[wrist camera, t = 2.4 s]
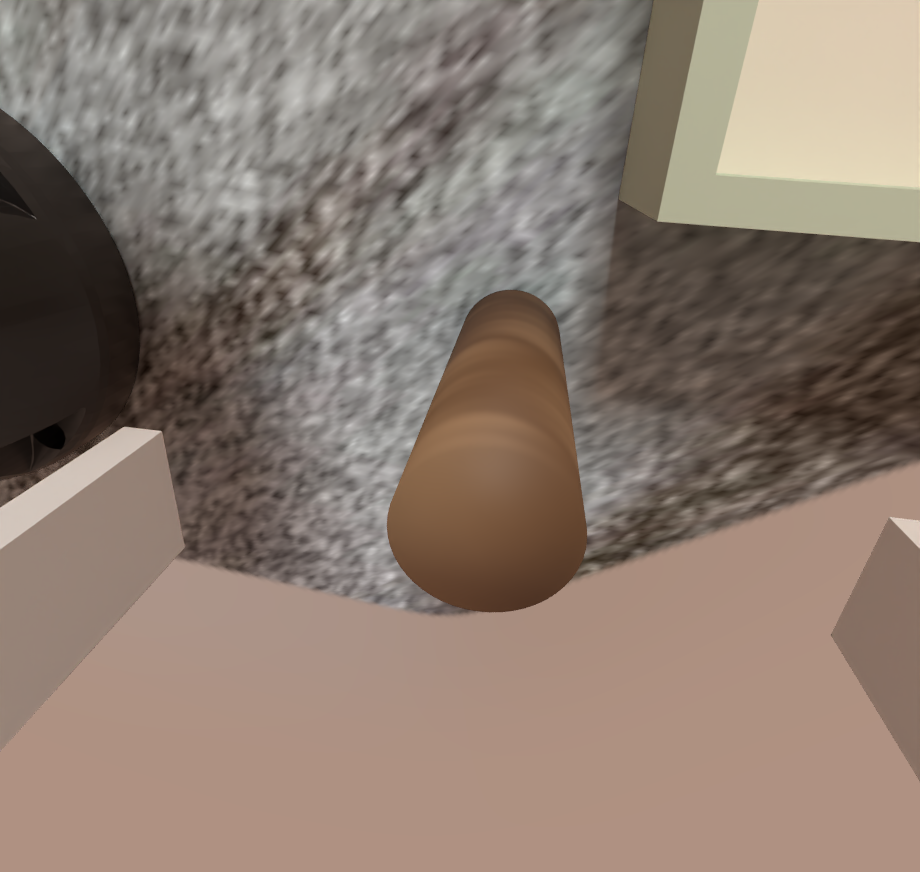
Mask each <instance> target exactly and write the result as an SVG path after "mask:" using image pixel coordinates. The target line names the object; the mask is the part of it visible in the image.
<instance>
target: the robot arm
mask: <svg viewBox="0 0 920 872" xmlns="http://www.w3.org/2000/svg"><path fill="white" fill-rule="evenodd" d="M139 347H140V344H139V325H138V316H137V310H136V305H135V300H134V296H133V292H132V288H131V285H130V282H129V278H128V275H127V273H126V270H125V267H124V264H123V262H122V259H121V257H120V255H119V252H118V250H117V248H116V246H115V243H114V241H113V240H112V238H111V236H110V234H109V232H108V230H107V228H106V226H105V224H104V223H103V221H102V219H101V218H100V216H99V214H98V212H97V211H96V209H95V208H94V206H93V205H92V203H91V202H90V200H89V199H88V197H87V196H86V194H85V193H84V192H83V190H82V189H81V188H80V186H79V185H78V184H77V182H76V181H75V180H74V179H73V177H72V176H71V175H70V174H69V172H68V171H67V170H66V169H65V168H64V166H63V165H62V164H61V163H60V162H59V161H58V160H57V159H56V158H55V157H54V155H53V154H52V153H51V152H50V151H49V150H48V149H47V148H46V147H45V146H44V145H43V144H42V143H41V142H40V141H39V140H38V139H37V138H36V137H34V136H33V135H32V134H31V133H30V132H29V131H28V130H27V129H25V128H24V127H23V126H22V125H21V124H20V123H18V122H17V121H16V120H14V119H13V118H12V117H11V116H9V115H8V114H7V113H5V112H4V111H3V110H1V109H0V481H1V480H5V479H9V478H13V477H17V476H21V475H25V474H28V473H32V472H35V471H37V470H40V469H42V468H44V467H47V466H49V465H51V464H54V463H55V462H57V461H59V460H61V459H63V458H64V457H66V456H67V455H69V454H70V453H72V452H73V451H75V450H77V449H78V448H80V447H81V446H83V445H84V444H86V443H87V442H89V441H90V440H92V439H94V438H95V437H96V436H98V435H99V434H101V433H102V432H103V431H104V430H105V429H106V428H107V427H109V426H110V424H111V423H112V422H113V421H114V420H115V419H116V418H117V416H118V415H119V413H120V412H121V411H122V409H123V407H124V406H125V404H126V402H127V400H128V398H129V395H130V393H131V391H132V388H133V385H134V382H135V377H136V373H137V368H138V361H139ZM184 548H185V545H184V540H183V535H182V530H181V525H180V520H179V514H178V509H177V504H176V499H175V494H174V489H173V484H172V479H171V474H170V469H169V464H168V459H167V454H166V449H165V444H164V439H163V434H162V431H156V430H148V429H139V428H131V427H123V428H121V429H120V430H118V431H117V432H115V433H114V434H112V435H111V436H109V437H108V438H106V439H105V440H103V441H102V442H100V443H98V444H97V445H95V446H94V447H92V448H91V449H89V450H88V451H86V452H85V453H83V454H82V455H80V456H79V457H77V458H75V459H74V460H72V461H71V462H69V463H68V464H66V465H65V466H63V467H62V468H60V469H59V470H57V471H56V472H54V473H53V474H51V475H49V476H48V477H46V478H45V479H43V480H42V481H40V482H39V483H37V484H36V485H34V486H33V487H31V488H30V489H28V490H27V491H25V492H23V493H22V494H20V495H19V496H17V497H16V498H14V499H13V500H11V501H10V502H8V503H7V504H5V505H4V506H2V507H0V751H1V750H2V749H3V748H4V747H5V746H6V744H7V743H8V742H9V741H10V740H11V739H12V738H13V737H14V736H15V735H16V733H17V732H18V731H19V730H20V729H21V728H22V727H23V726H24V725H25V723H26V722H27V721H28V720H29V719H30V718H31V717H32V716H33V714H35V712H36V711H37V710H38V709H39V708H40V707H41V706H42V705H43V704H44V702H45V701H46V700H47V699H48V698H49V697H50V696H51V695H52V694H53V692H54V691H55V690H56V689H57V688H58V687H59V686H60V685H61V684H62V683H63V681H64V680H65V679H66V678H67V677H68V676H69V675H70V674H71V673H72V671H73V670H74V669H75V668H76V667H77V666H78V665H79V664H80V663H81V662H82V660H83V659H84V658H85V657H86V656H87V655H88V654H89V653H90V652H91V651H92V649H93V648H94V647H95V646H96V645H97V644H98V643H99V642H100V641H101V639H102V638H103V637H104V636H105V635H106V634H107V633H108V632H109V631H110V629H111V628H112V627H113V626H114V625H115V624H116V623H117V622H118V621H119V620H120V618H121V617H122V616H123V615H124V614H125V613H126V612H127V611H128V610H129V608H130V607H131V606H132V605H133V604H134V603H135V602H136V601H137V600H138V598H139V597H140V596H141V595H142V594H143V593H144V592H145V591H146V590H147V589H148V587H149V586H150V585H151V584H152V583H153V582H154V581H155V580H156V579H157V577H158V576H159V575H160V574H161V573H162V572H163V571H164V570H165V569H166V568H167V566H168V565H169V564H170V563H171V562H172V561H173V560H174V559H175V558H176V557H177V555H178V554H179V553H180V552H181V551H182V550H183V549H184ZM831 636H832V638H833V639H834V641H835V643H836V644H837V646H838V647H839V649H840V651H841V652H842V654H843V656H844V657H845V659H846V661H847V662H848V664H849V666H850V667H851V669H852V671H853V672H854V674H855V675H856V677H857V679H858V680H859V682H860V684H861V685H862V687H863V689H864V690H865V692H866V693H867V695H868V697H869V699H870V700H871V702H872V703H873V705H874V707H875V708H876V710H877V712H878V713H879V715H880V716H881V718H882V720H883V721H884V723H885V725H886V726H887V728H888V730H889V731H890V733H891V735H892V736H893V738H894V739H895V741H896V743H897V744H898V746H899V748H900V749H901V751H902V753H903V754H904V756H905V758H906V759H907V761H908V762H909V764H910V766H911V767H912V769H913V771H914V772H915V774H916V776H917V777H918V779H919V781H920V521H917V520H908V519H900V518H891V517H889V519H888V521H887V523H886V525H885V527H884V529H883V531H882V533H881V535H880V537H879V539H878V541H877V543H876V545H875V547H874V549H873V551H872V553H871V555H870V557H869V559H868V561H867V563H866V565H865V567H864V569H863V571H862V573H861V575H860V577H859V579H858V581H857V583H856V585H855V587H854V589H853V591H852V594H851V595H850V598H849V599H848V601H847V604H846V605H845V607H844V609H843V612H842V614H841V616H840V618H839V620H838V622H837V624H836V626H835V628H834V630H833V632H832V634H831Z"/></svg>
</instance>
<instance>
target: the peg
mask: <svg viewBox="0 0 920 872" xmlns="http://www.w3.org/2000/svg"><path fill="white" fill-rule="evenodd" d="M387 532H388V539H389V543H390V547H391V549H392V552H393V554H394V556H395V558H396V560H397V562H398V564H399V565H400V567H401V568H402V569H403V571H404V572H405V573H406V575H407V576H408V577H409V578H410V579H411V580H412V581H413V582H414V583H415V584H417V585H418V586H419V587H420V588H421V589H423V590H424V591H426V592H427V593H429V594H430V595H432V596H433V597H435V598H437V599H439V600H441V601H443V602H446V603H448V604H451V605H453V606H457V607H460V608H463V609H468V610H473V611H480V612H506V611H514V610H519V609H523V608H526V607H530V606H533V605H536V604H538V603H540V602H542V601H544V600H546V599H548V598H549V597H551V596H553V595H554V594H556V593H557V592H558V591H559V590H561V589H562V588H563V587H564V586H565V585H566V584H567V583H568V582H569V581H570V580H571V579H572V578H573V576H574V575H575V573H576V572H577V570H578V568H579V566H580V564H581V562H582V560H583V557H584V554H585V550H586V543H587V527H586V519H585V512H584V505H583V498H582V491H581V484H580V476H579V469H578V462H577V455H576V448H575V441H574V433H573V426H572V419H571V412H570V405H569V398H568V390H567V383H566V376H565V369H564V362H563V354H562V347H561V340H560V333H559V327H558V324H557V321H556V318H555V316H554V314H553V313H552V311H551V310H550V308H549V307H548V306H547V305H546V304H545V303H544V302H543V301H542V300H540V299H539V298H537V297H536V296H534V295H532V294H530V293H527V292H523V291H518V290H503V291H499V292H495V293H492V294H490V295H488V296H486V297H484V298H483V299H481V300H480V301H479V302H478V303H477V304H476V305H475V306H474V307H473V308H472V309H471V310H470V312H469V314H468V315H467V317H466V319H465V322H464V324H463V327H462V329H461V332H460V334H459V336H458V339H457V341H456V344H455V346H454V349H453V351H452V354H451V356H450V359H449V361H448V364H447V366H446V368H445V371H444V373H443V376H442V378H441V381H440V383H439V386H438V388H437V391H436V393H435V396H434V398H433V400H432V403H431V405H430V408H429V410H428V413H427V415H426V418H425V420H424V423H423V425H422V428H421V430H420V432H419V435H418V437H417V440H416V442H415V445H414V447H413V450H412V452H411V455H410V457H409V460H408V462H407V464H406V467H405V469H404V472H403V474H402V477H401V479H400V482H399V484H398V487H397V489H396V491H395V494H394V496H393V499H392V501H391V504H390V508H389V512H388V518H387Z"/></svg>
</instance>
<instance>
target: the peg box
mask: <svg viewBox="0 0 920 872" xmlns="http://www.w3.org/2000/svg"><path fill="white" fill-rule="evenodd" d="M619 200H621V201H623V202H624V203H626V204H628V205H629V206H631V207H633V208H635V209H636V210H638V211H640V212H642V213H643V214H645V215H647V216H649V217H650V218H652V219H654V220H656V221H657V222H670V223H683V224H695V225H708V226H721V227H734V228H746V229H759V230H772V231H784V232H797V233H810V234H823V235H835V236H848V237H861V238H874V239H886V240H899V241H912V242H920V0H654V1H653V7H652V13H651V18H650V24H649V30H648V35H647V41H646V47H645V52H644V58H643V63H642V69H641V75H640V80H639V86H638V92H637V97H636V103H635V109H634V114H633V120H632V125H631V131H630V137H629V142H628V148H627V154H626V159H625V165H624V171H623V176H622V182H621V187H620V193H619Z"/></svg>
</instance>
